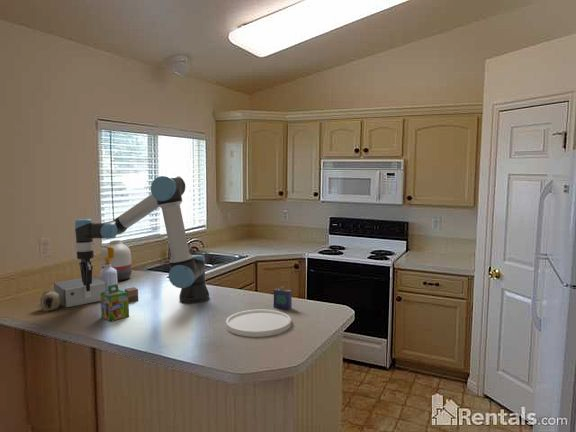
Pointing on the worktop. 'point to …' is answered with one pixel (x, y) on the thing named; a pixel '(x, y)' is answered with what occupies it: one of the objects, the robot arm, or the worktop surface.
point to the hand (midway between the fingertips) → (87, 297)
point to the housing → (72, 286)
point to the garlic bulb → (50, 300)
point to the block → (132, 294)
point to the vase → (119, 259)
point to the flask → (282, 298)
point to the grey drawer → (77, 295)
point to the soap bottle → (109, 271)
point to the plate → (258, 323)
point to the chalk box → (114, 304)
